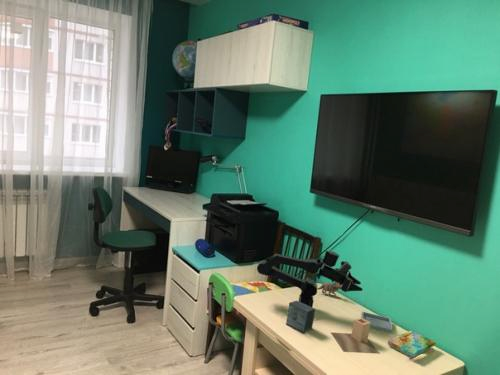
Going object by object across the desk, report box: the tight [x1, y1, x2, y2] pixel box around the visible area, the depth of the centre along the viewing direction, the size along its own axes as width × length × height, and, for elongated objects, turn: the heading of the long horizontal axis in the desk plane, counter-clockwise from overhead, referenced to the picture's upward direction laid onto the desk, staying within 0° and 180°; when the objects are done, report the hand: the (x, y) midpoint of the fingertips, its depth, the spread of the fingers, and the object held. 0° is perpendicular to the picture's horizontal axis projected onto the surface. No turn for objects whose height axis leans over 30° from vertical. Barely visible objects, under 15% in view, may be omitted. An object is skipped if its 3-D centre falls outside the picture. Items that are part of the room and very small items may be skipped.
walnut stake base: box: [330, 332, 381, 355], centre depth 175 cm, size 16×16×5 cm
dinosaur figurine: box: [317, 281, 342, 298], centre depth 230 cm, size 14×6×9 cm, turn 75°
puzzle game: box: [387, 330, 437, 360], centre depth 178 cm, size 12×5×20 cm
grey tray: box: [360, 311, 393, 334], centre depth 198 cm, size 14×14×2 cm
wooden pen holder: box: [351, 317, 371, 343], centre depth 179 cm, size 7×5×8 cm
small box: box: [285, 300, 316, 335], centre depth 184 cm, size 11×6×10 cm, turn 47°
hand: (361, 286), depth 202 cm, fingers open, 9 cm apart
